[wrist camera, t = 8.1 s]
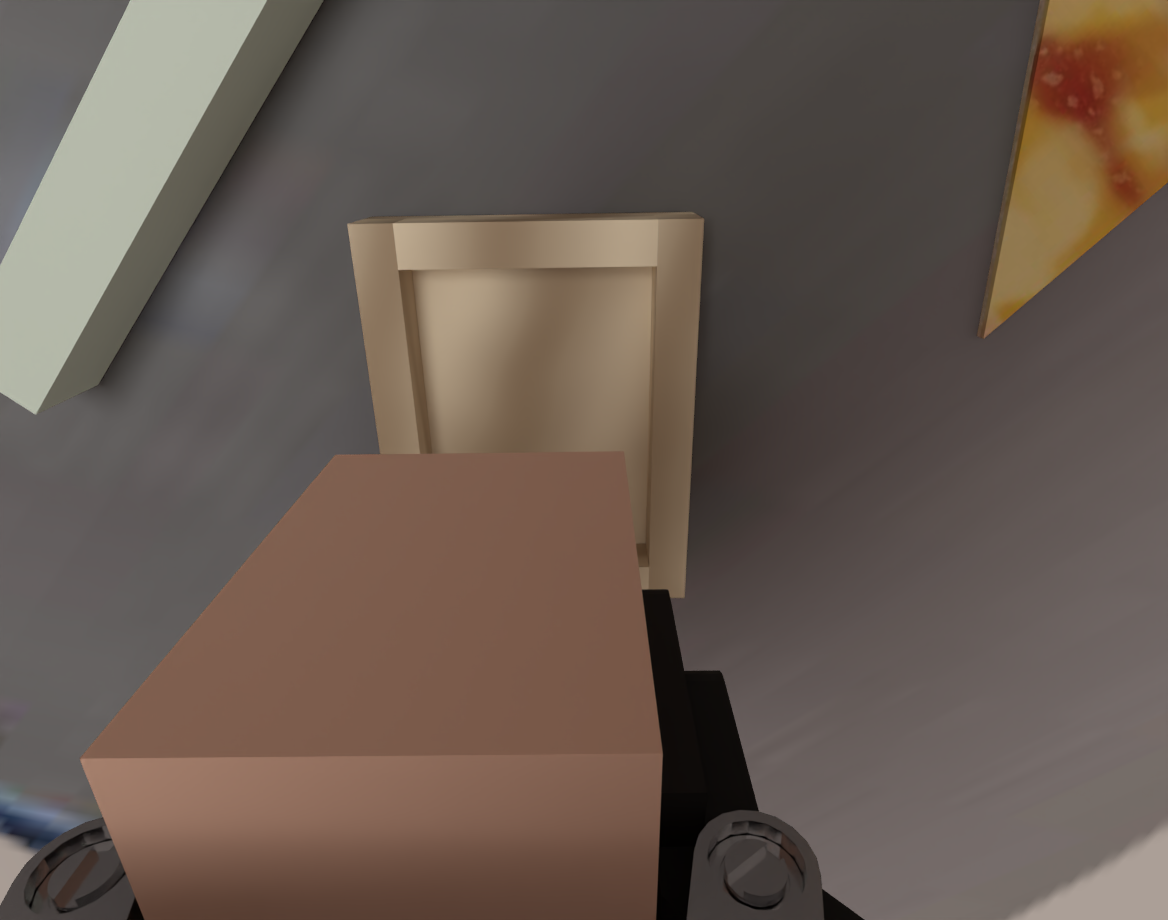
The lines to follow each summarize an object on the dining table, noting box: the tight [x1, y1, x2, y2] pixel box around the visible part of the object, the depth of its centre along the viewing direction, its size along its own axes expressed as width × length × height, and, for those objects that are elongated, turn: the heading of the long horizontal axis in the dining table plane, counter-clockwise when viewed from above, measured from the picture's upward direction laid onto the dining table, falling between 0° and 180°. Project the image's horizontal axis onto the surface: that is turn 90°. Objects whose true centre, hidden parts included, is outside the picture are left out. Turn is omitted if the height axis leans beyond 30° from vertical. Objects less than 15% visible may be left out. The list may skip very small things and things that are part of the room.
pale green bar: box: [0, 0, 324, 414], centre depth 18 cm, size 22×2×3 cm, turn 140°
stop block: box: [80, 451, 663, 920], centre depth 9 cm, size 4×7×7 cm, turn 1°
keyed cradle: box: [347, 212, 704, 598], centre depth 22 cm, size 9×12×2 cm
